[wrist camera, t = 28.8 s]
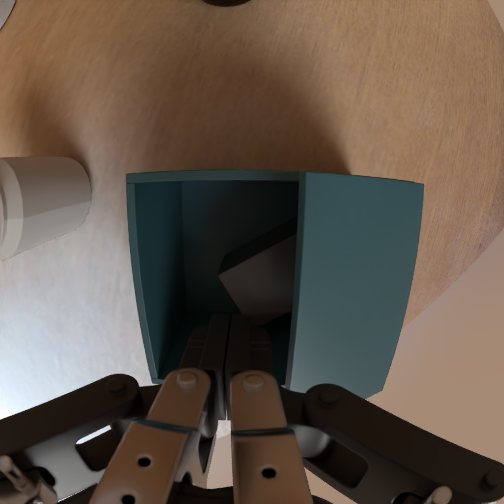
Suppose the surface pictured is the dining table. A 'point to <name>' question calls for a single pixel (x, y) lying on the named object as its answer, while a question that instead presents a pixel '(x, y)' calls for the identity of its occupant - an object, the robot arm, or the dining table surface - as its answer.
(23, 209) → the can
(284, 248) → the block
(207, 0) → the supplement bottle
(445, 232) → the dining table surface
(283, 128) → the dining table surface
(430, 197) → the dining table surface
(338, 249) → the flap
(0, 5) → the chalice
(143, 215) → the carton
